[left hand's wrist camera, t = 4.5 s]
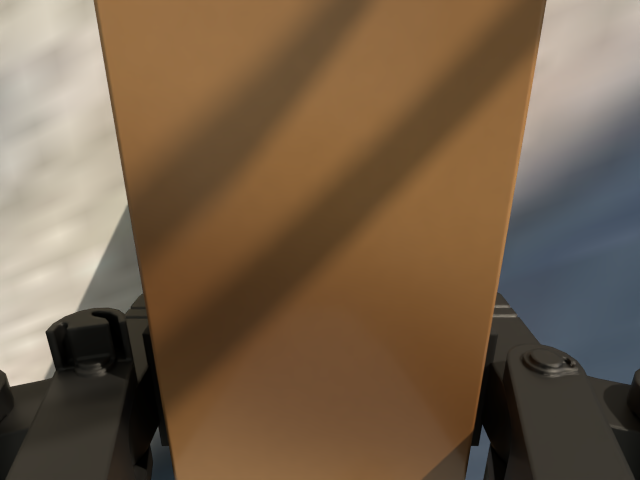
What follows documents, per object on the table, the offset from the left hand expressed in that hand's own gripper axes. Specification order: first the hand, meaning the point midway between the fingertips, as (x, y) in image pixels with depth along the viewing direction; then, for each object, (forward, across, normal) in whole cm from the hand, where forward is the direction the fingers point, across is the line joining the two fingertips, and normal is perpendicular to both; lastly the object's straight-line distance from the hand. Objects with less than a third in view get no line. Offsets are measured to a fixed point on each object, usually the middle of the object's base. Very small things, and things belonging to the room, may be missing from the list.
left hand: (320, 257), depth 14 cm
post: (+1, 0, -28) cm, 28 cm away
